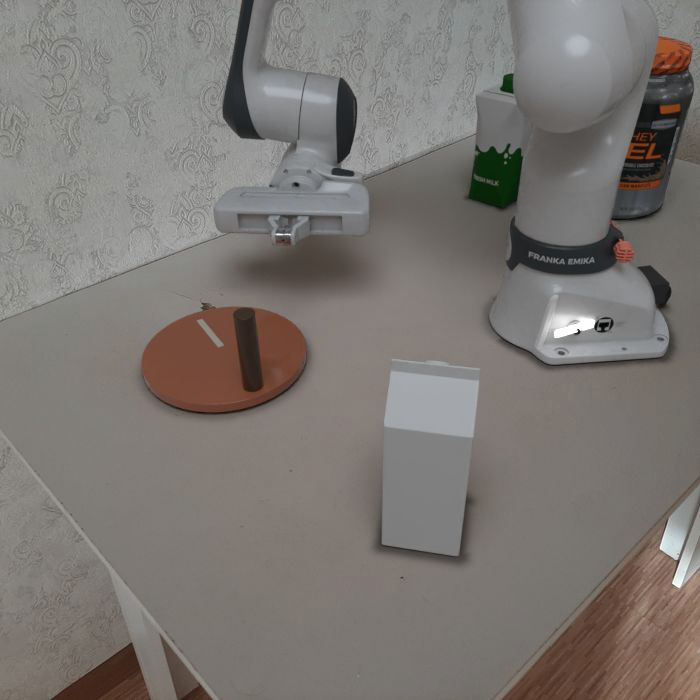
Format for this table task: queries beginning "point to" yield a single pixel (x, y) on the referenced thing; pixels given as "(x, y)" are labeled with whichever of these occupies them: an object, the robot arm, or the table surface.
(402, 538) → the milk carton
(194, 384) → the orange disc with rod
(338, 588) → the table surface
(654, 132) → the supplement tub
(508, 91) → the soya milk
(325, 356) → the table surface
